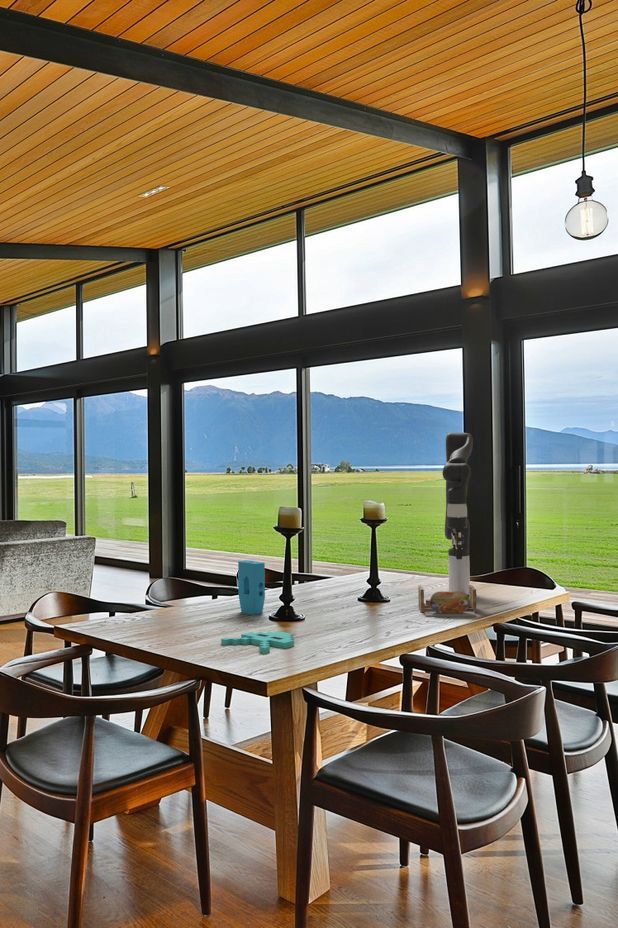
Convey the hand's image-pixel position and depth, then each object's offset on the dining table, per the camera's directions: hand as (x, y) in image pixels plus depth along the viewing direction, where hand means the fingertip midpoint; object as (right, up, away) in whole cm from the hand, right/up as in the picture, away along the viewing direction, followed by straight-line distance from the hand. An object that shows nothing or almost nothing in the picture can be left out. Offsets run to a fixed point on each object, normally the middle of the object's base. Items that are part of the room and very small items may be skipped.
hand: (457, 557), depth 298 cm
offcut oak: (-8, -20, +13) cm, 25 cm away
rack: (-2, -22, +10) cm, 24 cm away
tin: (-3, -22, +1) cm, 22 cm away
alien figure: (-71, -23, -44) cm, 87 cm away
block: (-80, -23, +9) cm, 83 cm away
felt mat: (-3, -22, 0) cm, 22 cm away
